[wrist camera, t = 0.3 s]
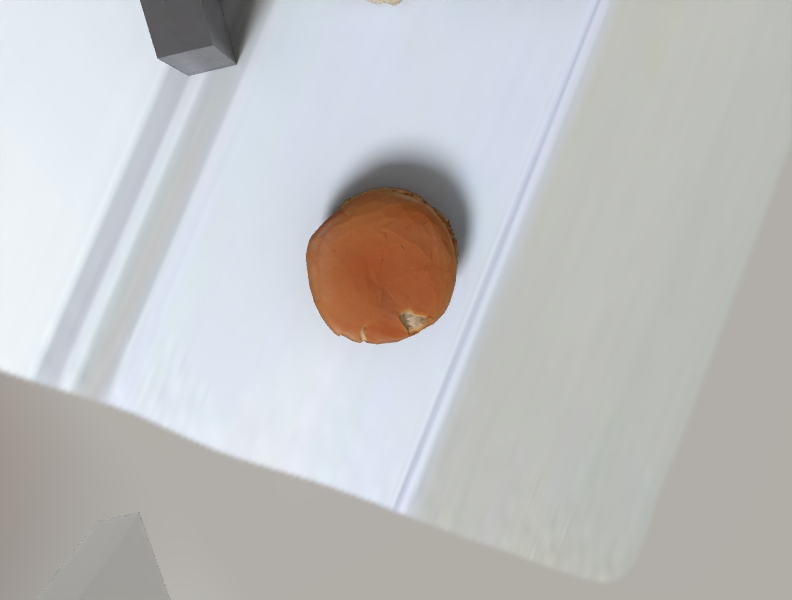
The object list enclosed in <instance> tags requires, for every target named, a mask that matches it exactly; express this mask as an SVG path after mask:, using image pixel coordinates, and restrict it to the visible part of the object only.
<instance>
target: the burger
mask: <svg viewBox="0 0 792 600" xmlns="http://www.w3.org/2000/svg"><path fill="white" fill-rule="evenodd" d="M450 227H451V225H450V223H449V220H448V221H447V220H446V218H445V217H444V216H443V215H442V214H441V213H440V212H439V211H438V210H436V209H435V208H433V207H431V206H430V205H429V204H428V203H427V202H426V201H424V200H423V198H421V197H420V196H418V195H416V194H414V193H412V192H409V191H406V190H403V189H397V188H376V189H371V190H368V191H365V192H363V193H360V194H358V195H356V196H354V197H352V198H350V199H348V200H346V201H345V203H344V204H343V205H342V206H340V207H339V209H338V210H337V211H336V212H335V213H334V214H333V215H332V216H331V217H330V218H328V219H327V220H326V221H325V222H324V223H323V224H322V225H321V226H320V227H319V228H318V230H317V231H316V232H315V233H314V234H313V235H312V236H311V238H310V240H309V243H308V247H307V253H306V263H307V270H308V278H309V286H310V289H311V293H312V296H313V299H314V303H315V305H316V307H317V309H318V311H319V313H320V315H321V317H322V318H323V320H324V321H325V323H326V324H327V326H328V327H329V328H330V329H331V330H332V331H333V332H334V333H335V334H336V335H338V336H339V335H342V336H344V337H347V338H348V339H350V340H352V341H355V342H359V343H361V342H362V341H365V342H367V343H372V344H382V343H391V342H398V341H400V340H403V339H405V338H407V337H410V336H412V335H415V334H417V333H419V332H420V331H421V330H423V329H425V328H426V327H428V326H430V325H432V324H434V323H435V322H436V321H437V320H438V319H439V318H440V317H441V316H442V315H443V314H444V313H445V311H446V309H447V307H448V305H449V303H450V300H451V297H452V294H453V290H454V286H455V282H456V271H457V263H458V262H457V261H458V249H457V240H456V238H454V233H453V230H452V229H451V228H450Z"/></svg>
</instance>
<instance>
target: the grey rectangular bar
mask: <svg viewBox="0 0 792 600" xmlns="http://www.w3.org/2000/svg"><path fill="white" fill-rule="evenodd" d="M140 2H141V5H142V8H143V12H144V15H145V18H146V22H147V25H148V28H149V32H150V35H151V38H152V42H153V45H154V48H155V52H156V55H157V58H158V59H159V60H161V61H163V62H165V63H167V64H168V65H170V66H172V67H174V68H176V69H177V70H179V71H181V72H183V73H185V74H186V75H188V76H190V75H194V74H199V73H203V72H207V71H211V70H216V69H220V68H224V67H228V66H233V65H236V61H235V57H234V54H233V50H232V46H231V43H230V39H229V35H228V32H227V28H226V24H225V21H224V17H223V13H222V9H221V6H220V2H219V0H140Z"/></svg>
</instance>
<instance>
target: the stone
mask: <svg viewBox="0 0 792 600" xmlns="http://www.w3.org/2000/svg"><path fill="white" fill-rule="evenodd" d="M367 1H369V2H371V3H375V4H381V3H388V4H391V5H393V6H396V5H397V4H399V3H400V2H401V0H367Z"/></svg>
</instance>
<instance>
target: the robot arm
mask: <svg viewBox="0 0 792 600" xmlns="http://www.w3.org/2000/svg"><path fill="white" fill-rule="evenodd" d="M35 600H170V597H169V594H168V591H167V589H166V586H165V583H164V580H163V577H162V574H161V572H160V569H159V566H158V563H157V561H156V558H155V555H154V552H153V549H152V546H151V544H150V541H149V538H148V535H147V532H146V529H145V527H144V524H143V521H142V518H141V515H140V512H139V513H134V514H129V515H124V516H120V517H115V518H110V519H105V520H101V521H98V522H97V523H96V524H95V525H94V526H93V528H92V529H91V530H90V532H89V533H88V534H87V535H86V536H85V538H84V539H83V540H82V541H81V543H80V544H79V545H78V546H77V548H76V549H75V550H74V552H73V553H72V554H71V555H70V557H69V558H68V559H67V560H66V561H65V563H64V564H63V565H62V566H61V568H60V569H59V570H58V571H57V573H56V574H55V575H54V577H53V578H52V579H51V580H50V581H49V583H48V584H47V585H46V587H45V588H44V589H43V590H42V592H41V593H40V594H39V595H38V597H37V598H36V599H35Z"/></svg>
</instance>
